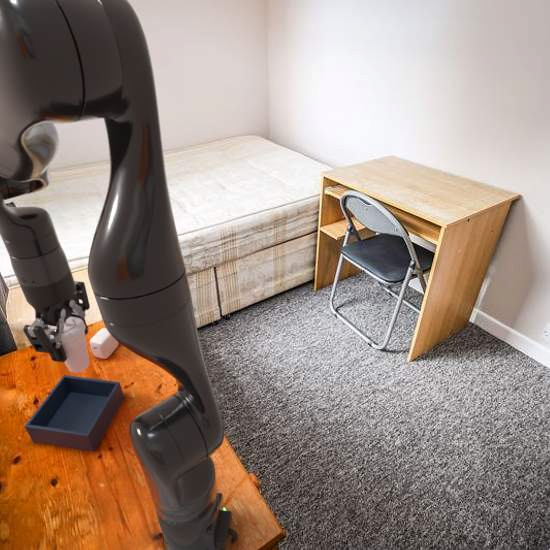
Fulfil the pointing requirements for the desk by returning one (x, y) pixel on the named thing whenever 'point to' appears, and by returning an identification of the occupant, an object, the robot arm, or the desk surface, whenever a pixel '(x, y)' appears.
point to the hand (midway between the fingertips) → (72, 346)
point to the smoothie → (74, 344)
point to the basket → (76, 413)
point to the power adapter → (103, 344)
